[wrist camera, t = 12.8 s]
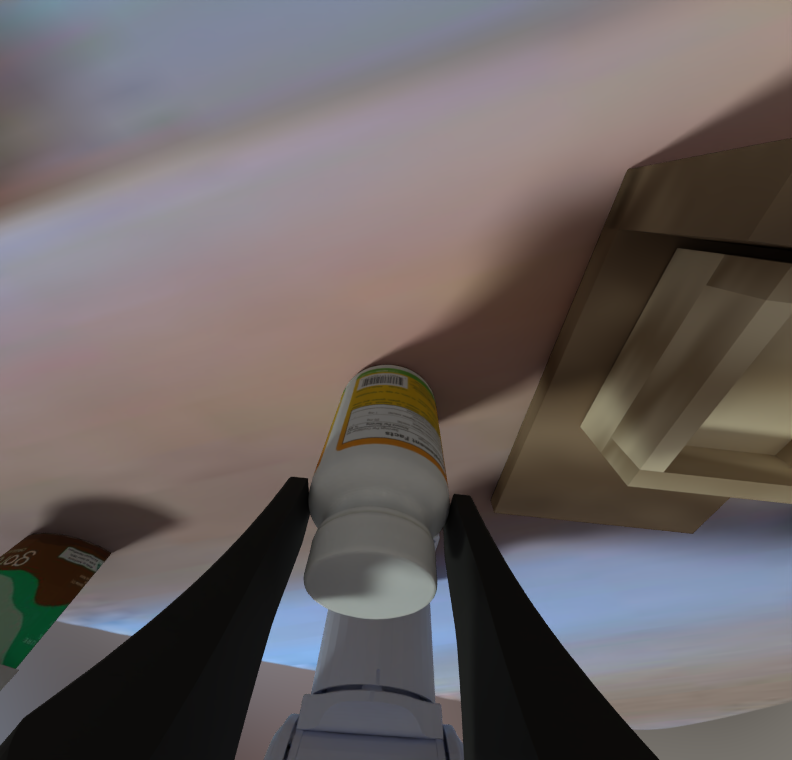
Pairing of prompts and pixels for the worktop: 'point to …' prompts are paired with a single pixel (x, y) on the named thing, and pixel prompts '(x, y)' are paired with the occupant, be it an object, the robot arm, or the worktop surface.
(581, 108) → the worktop surface
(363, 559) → the supplement bottle
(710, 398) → the beige square tray
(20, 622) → the food container
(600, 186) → the worktop surface
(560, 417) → the base
